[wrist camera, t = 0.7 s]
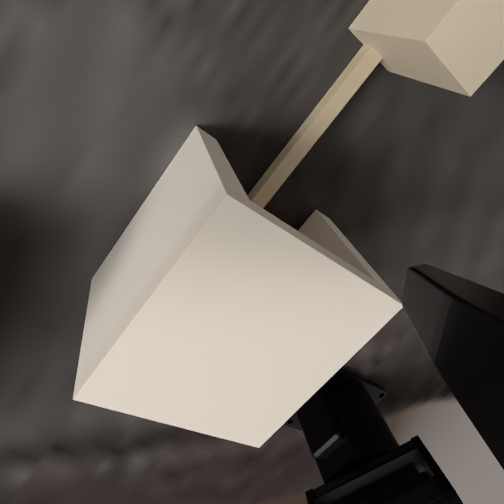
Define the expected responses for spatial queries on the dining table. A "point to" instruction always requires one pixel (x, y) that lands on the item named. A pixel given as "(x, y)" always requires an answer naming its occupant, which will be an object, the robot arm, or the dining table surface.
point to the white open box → (223, 307)
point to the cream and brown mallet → (402, 63)
